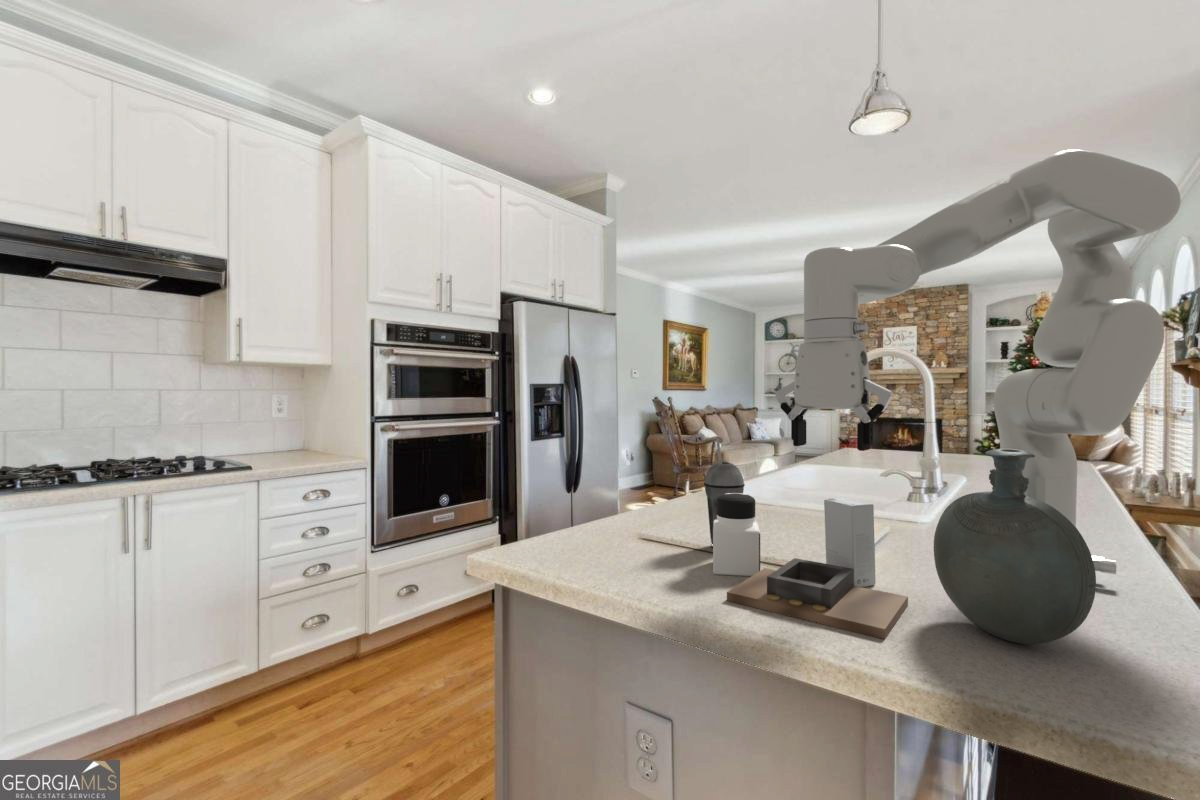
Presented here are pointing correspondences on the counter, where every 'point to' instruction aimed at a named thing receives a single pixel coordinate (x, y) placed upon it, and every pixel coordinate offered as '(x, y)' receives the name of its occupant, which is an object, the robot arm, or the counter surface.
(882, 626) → the board
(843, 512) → the skincare box
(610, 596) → the counter surface
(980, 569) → the flask
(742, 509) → the medicine bottle
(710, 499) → the beverage cup
